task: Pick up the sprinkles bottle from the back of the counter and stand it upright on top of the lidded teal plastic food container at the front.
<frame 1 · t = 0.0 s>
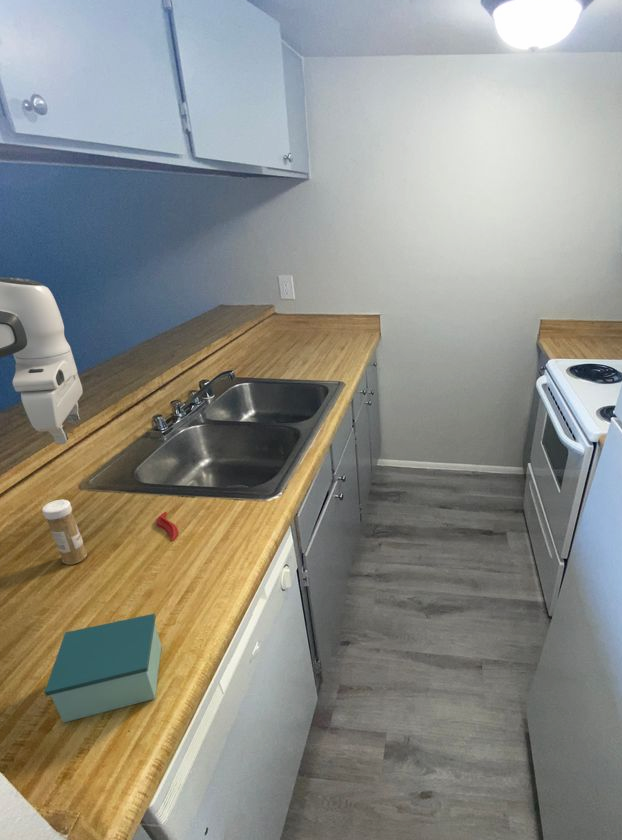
hand: (69, 432, 96), 25 cm above the worktop, tool pointing down, fingers open, 8 cm apart
sprinkles bottle: (75, 558, 98), on the worktop
cayenne pepper: (167, 527, 109), on the worktop
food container: (116, 681, 74), on the worktop
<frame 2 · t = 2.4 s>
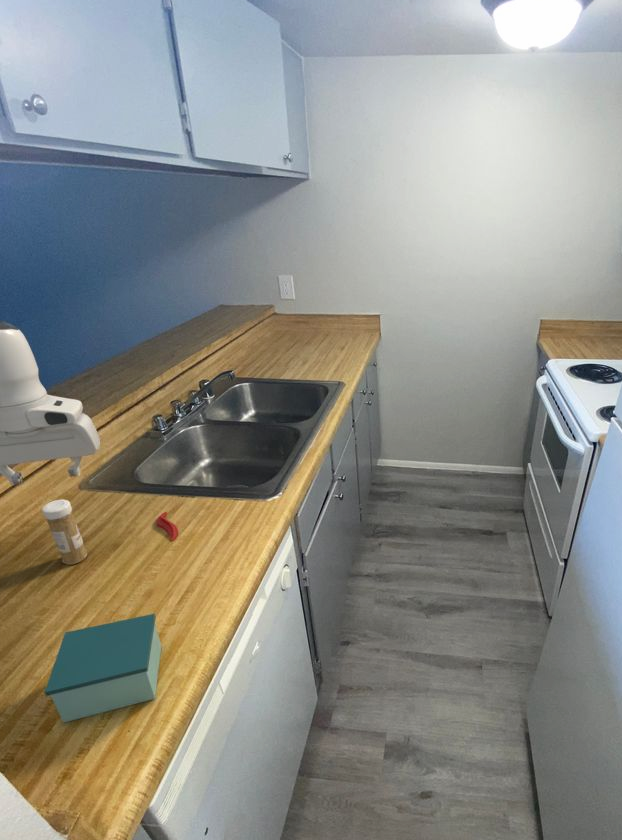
hand: (47, 479, 90), 19 cm above the worktop, tool pointing down, fingers open, 8 cm apart
nothing on the worktop moved.
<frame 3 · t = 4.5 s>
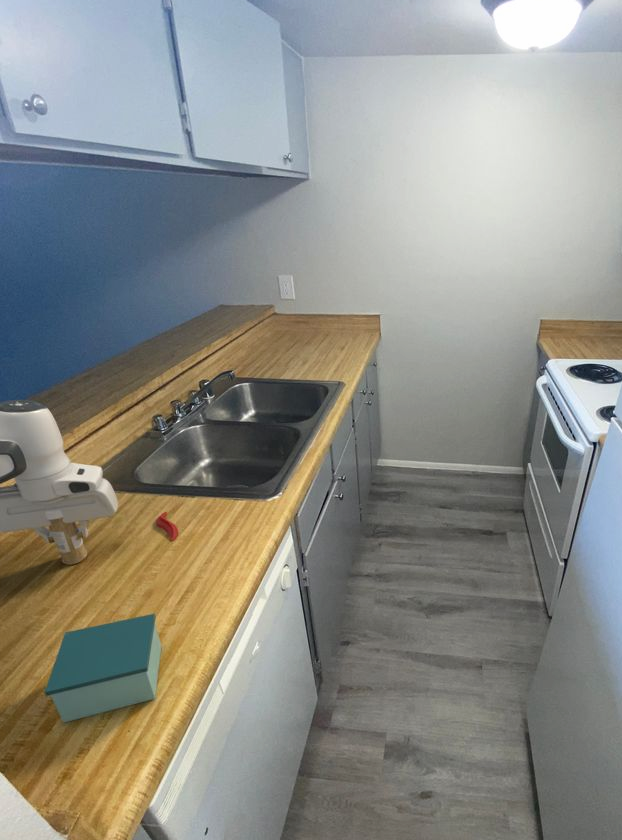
hand: (68, 538, 96), 5 cm above the worktop, tool pointing down, fingers closed on sprinkles bottle, 4 cm apart
sprinkles bottle: (75, 558, 98), on the worktop, touching gripper
everything else where it was.
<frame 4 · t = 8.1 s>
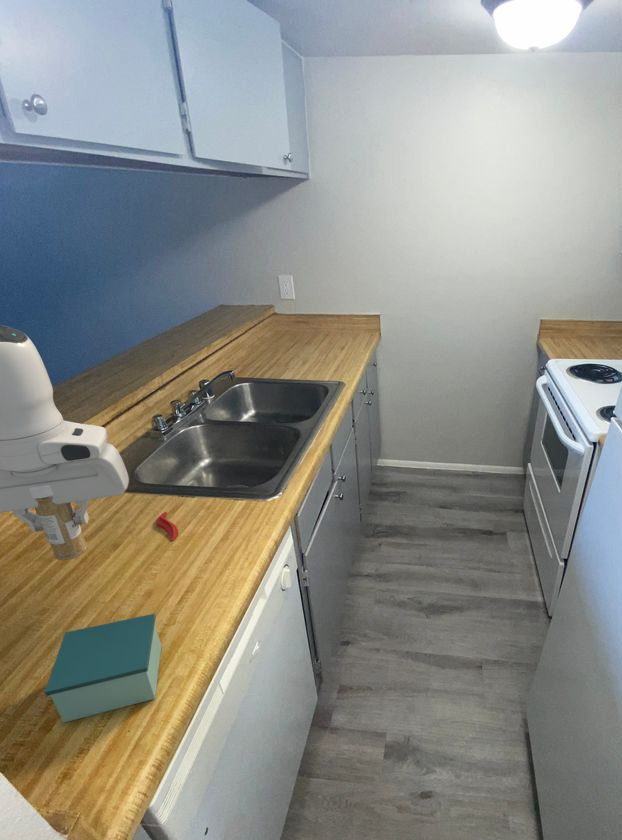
hand: (61, 525, 71), 23 cm above the worktop, tool pointing down, fingers closed on sprinkles bottle, 4 cm apart
sprinkles bottle: (71, 553, 74), point 18 cm above the worktop, touching gripper
everything else where it was.
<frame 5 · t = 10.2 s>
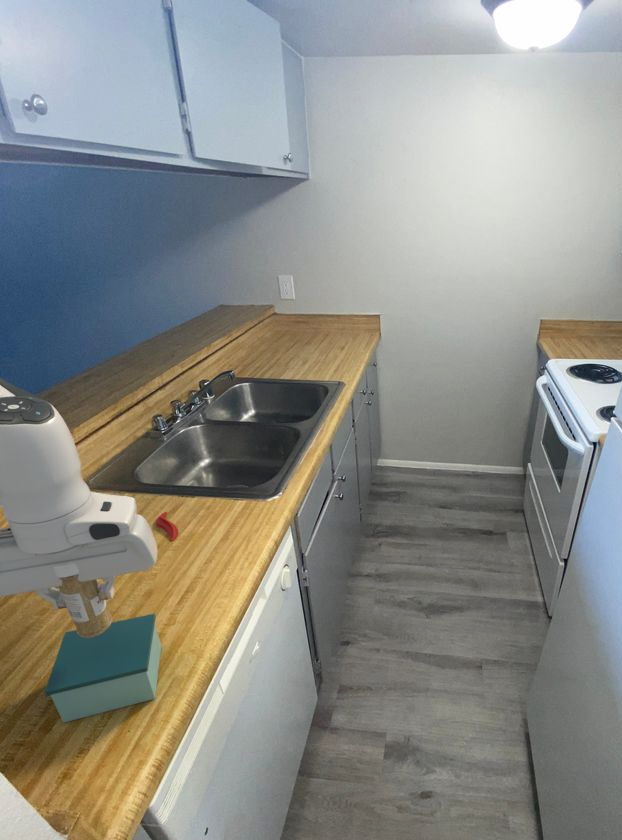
hand: (86, 601, 66), 17 cm above the worktop, tool pointing down, fingers closed on sprinkles bottle, 4 cm apart
sprinkles bottle: (95, 627, 69), point 12 cm above the worktop, touching gripper
everything else where it was.
when the fingers open (12 cm above the worktop, at t = 11.8 s): sprinkles bottle stays where it is, resting on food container.
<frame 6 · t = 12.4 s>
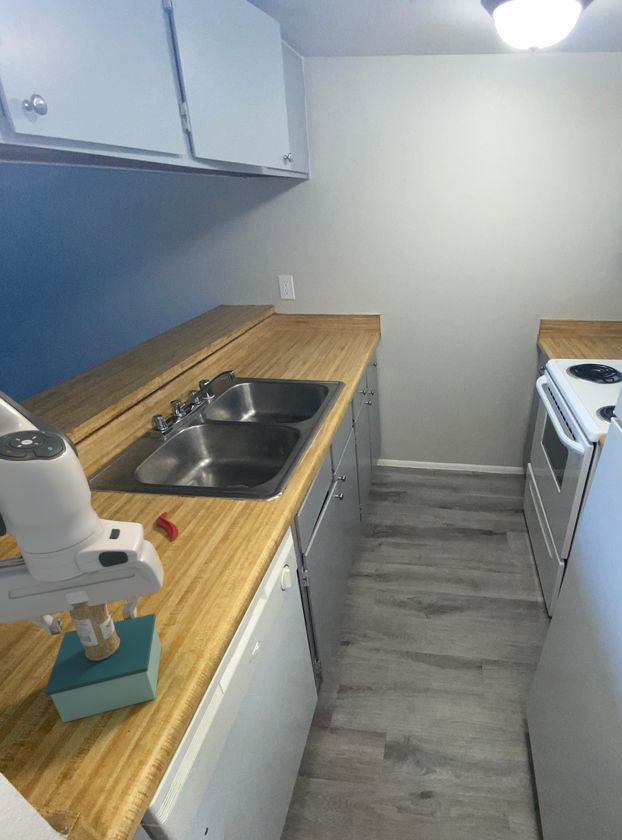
hand: (94, 623, 68), 13 cm above the worktop, tool pointing down, fingers open, 8 cm apart
sprinkles bottle: (103, 649, 71), point 7 cm above the worktop, touching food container
everything else where it was.
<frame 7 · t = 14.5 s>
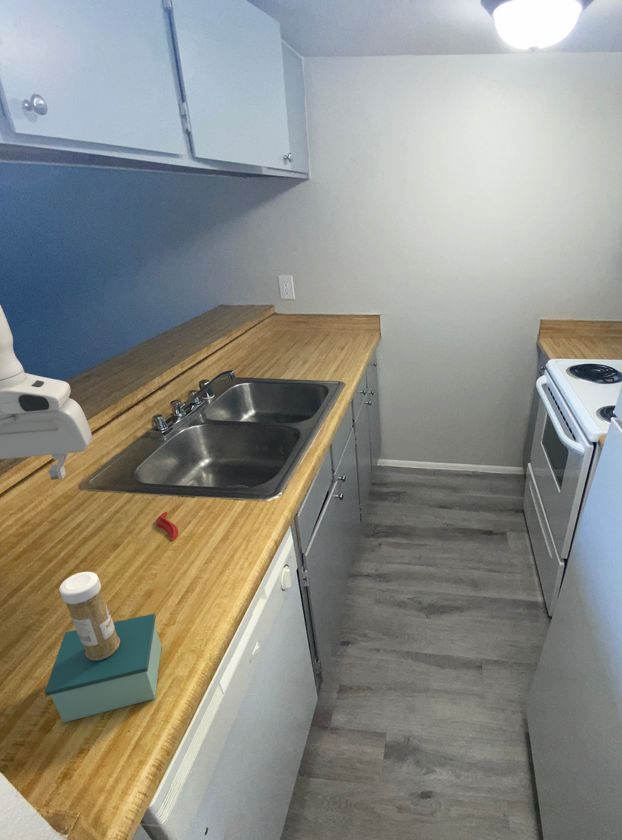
hand: (21, 481, 70), 30 cm above the worktop, tool pointing down, fingers open, 8 cm apart
nothing on the worktop moved.
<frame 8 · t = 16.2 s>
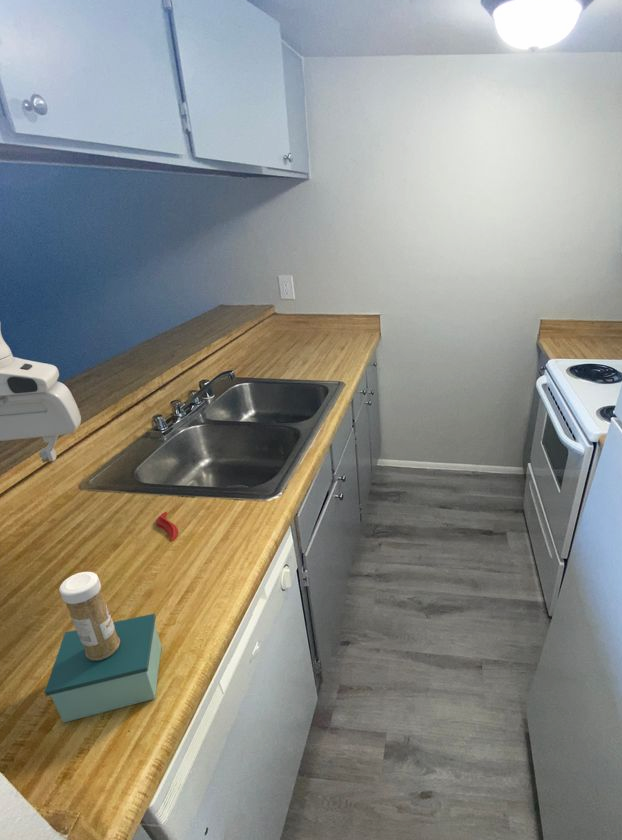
hand: (13, 464, 72), 31 cm above the worktop, tool pointing down, fingers open, 8 cm apart
nothing on the worktop moved.
at the end: sprinkles bottle inside the target area on the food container (0.1 cm from its centre), point 7.2 cm above the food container's base; sprinkles bottle tilted 0°; the gripper is holding nothing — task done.
